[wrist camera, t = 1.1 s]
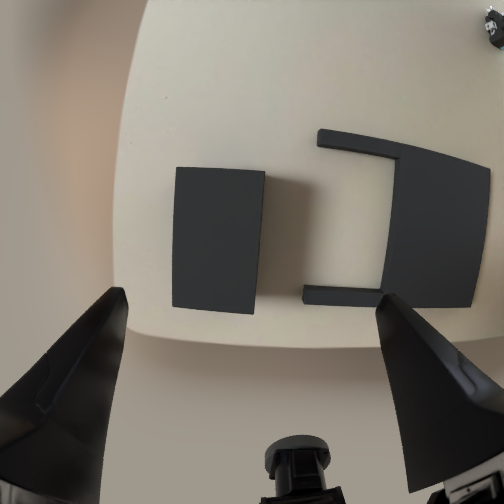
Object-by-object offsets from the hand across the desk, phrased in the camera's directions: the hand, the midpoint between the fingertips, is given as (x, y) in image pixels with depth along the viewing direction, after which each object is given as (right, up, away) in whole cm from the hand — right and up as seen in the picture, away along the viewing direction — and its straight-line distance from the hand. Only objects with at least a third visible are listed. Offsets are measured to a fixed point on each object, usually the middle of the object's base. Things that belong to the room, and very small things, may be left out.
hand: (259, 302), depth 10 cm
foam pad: (-3, +3, +14) cm, 15 cm away
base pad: (+13, +4, +14) cm, 19 cm away
